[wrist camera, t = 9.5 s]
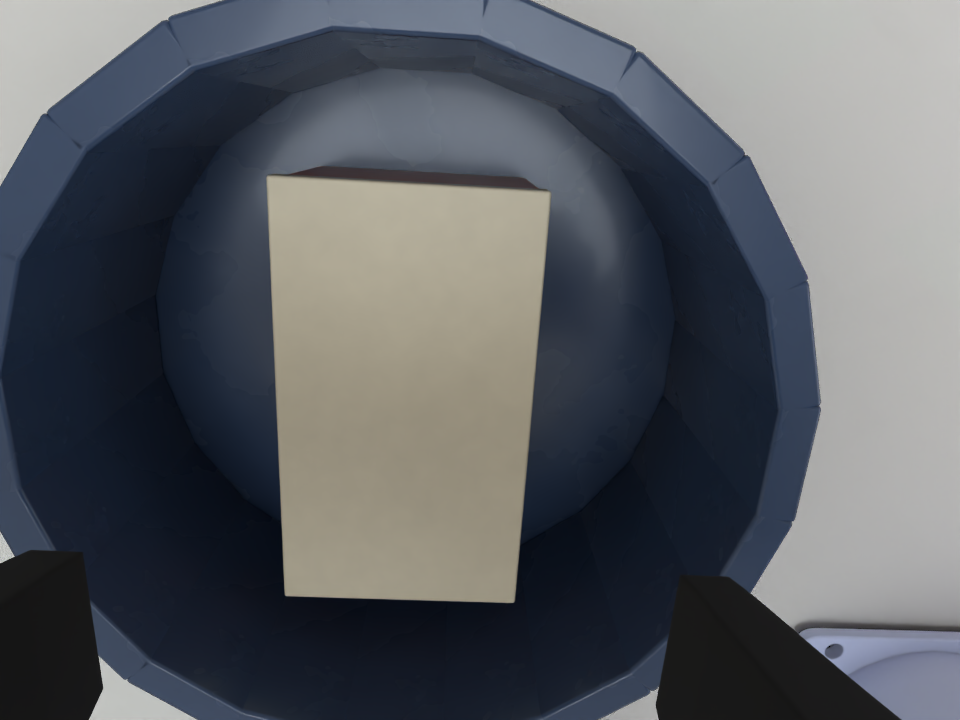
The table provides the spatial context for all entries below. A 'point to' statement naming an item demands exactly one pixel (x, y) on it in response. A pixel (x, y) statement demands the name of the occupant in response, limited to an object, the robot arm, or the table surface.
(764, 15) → the table surface
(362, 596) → the snack box
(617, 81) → the lunch tin
